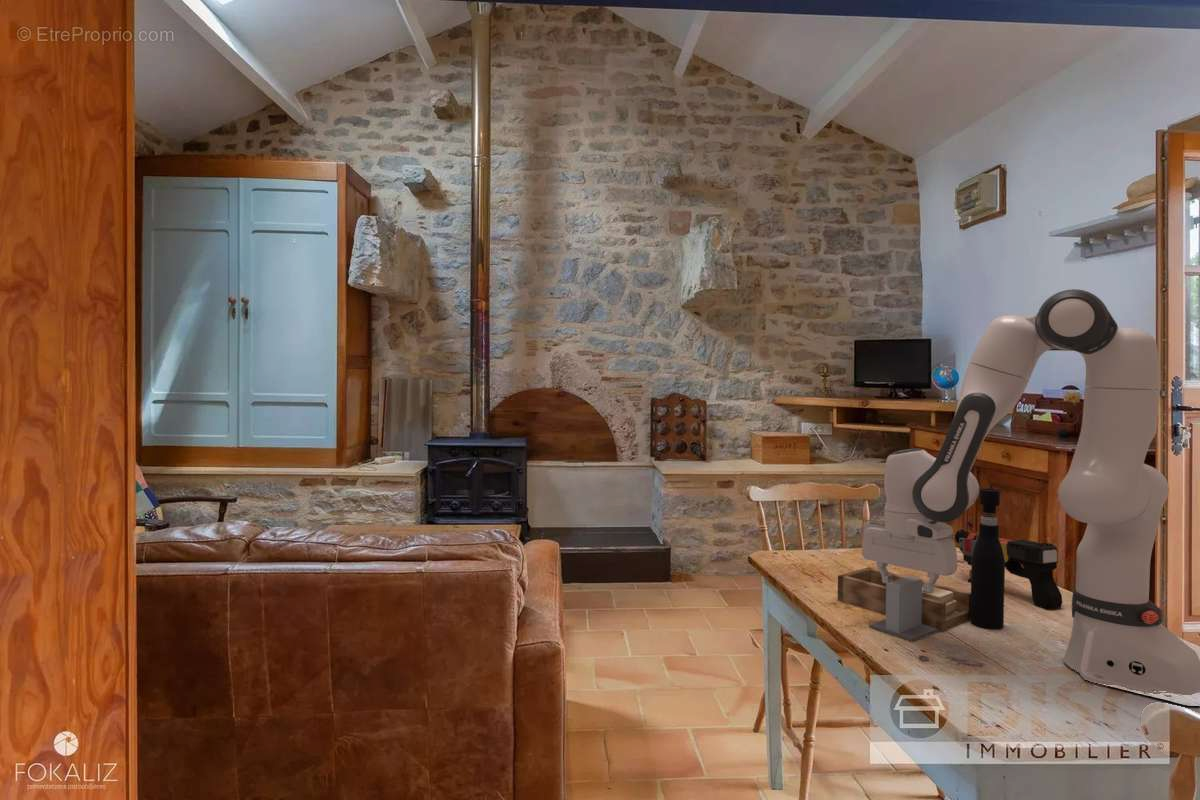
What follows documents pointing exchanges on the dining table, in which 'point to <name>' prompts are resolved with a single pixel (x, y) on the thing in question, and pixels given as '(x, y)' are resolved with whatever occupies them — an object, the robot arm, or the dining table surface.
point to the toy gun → (1034, 560)
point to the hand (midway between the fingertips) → (907, 587)
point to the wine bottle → (988, 568)
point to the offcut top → (940, 595)
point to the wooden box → (871, 595)
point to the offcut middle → (951, 608)
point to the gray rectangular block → (903, 604)
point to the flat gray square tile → (909, 634)
